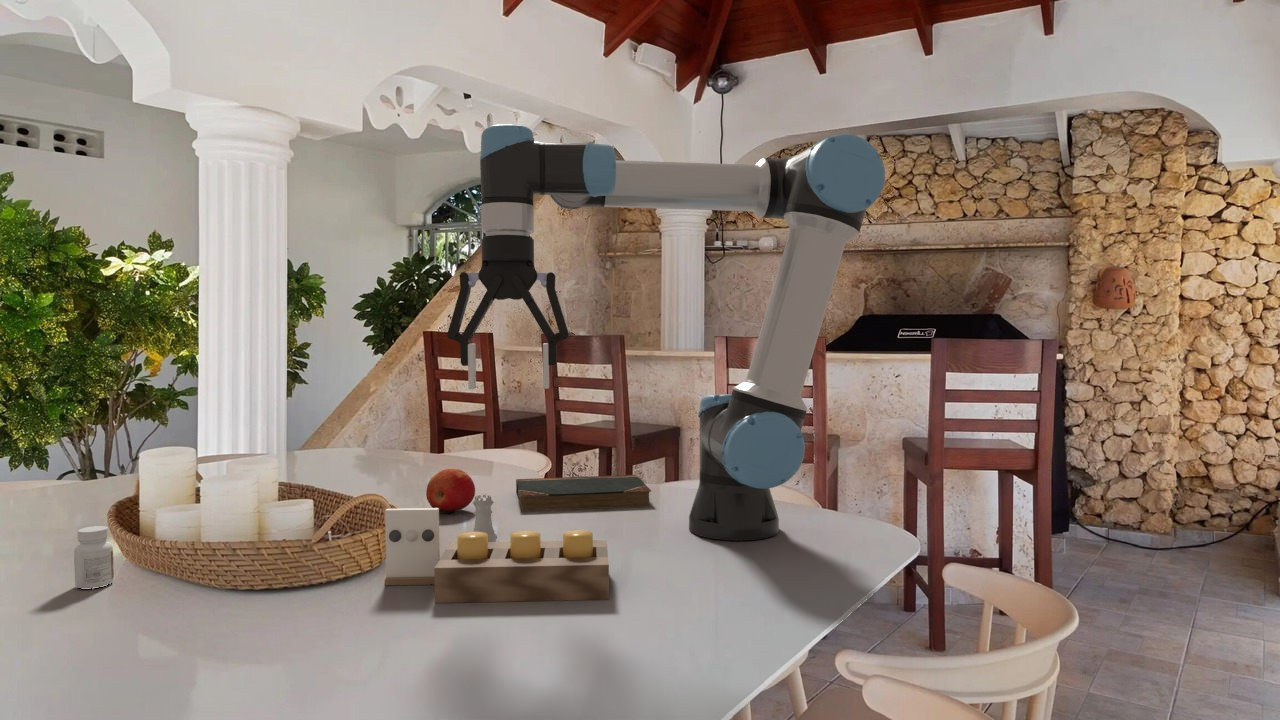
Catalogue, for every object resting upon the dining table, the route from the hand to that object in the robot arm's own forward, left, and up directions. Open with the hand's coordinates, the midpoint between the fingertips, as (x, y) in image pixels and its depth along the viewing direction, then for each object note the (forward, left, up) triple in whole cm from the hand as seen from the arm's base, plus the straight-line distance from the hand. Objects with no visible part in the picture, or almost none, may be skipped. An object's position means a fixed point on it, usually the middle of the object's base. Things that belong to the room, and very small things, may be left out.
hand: (509, 388), depth 125 cm
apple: (+14, -32, -26) cm, 43 cm away
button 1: (+4, +12, -23) cm, 26 cm away
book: (-10, -42, -26) cm, 51 cm away
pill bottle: (+55, +8, -26) cm, 61 cm away
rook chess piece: (+5, -8, -26) cm, 28 cm away
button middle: (-3, +12, -23) cm, 26 cm away
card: (+12, +9, -26) cm, 30 cm away
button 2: (-10, +12, -23) cm, 28 cm away
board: (-3, +12, -26) cm, 28 cm away
